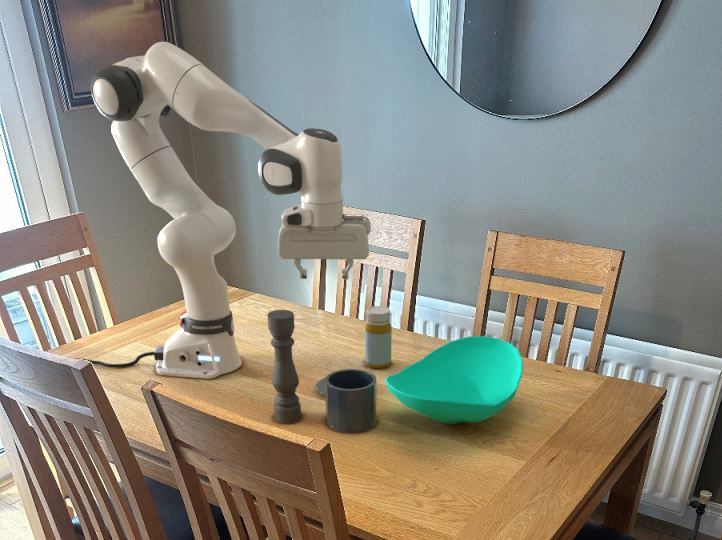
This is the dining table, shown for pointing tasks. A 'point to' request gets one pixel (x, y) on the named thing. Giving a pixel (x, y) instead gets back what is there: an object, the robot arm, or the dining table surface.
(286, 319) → the candle holder
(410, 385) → the table top decor
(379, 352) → the bottle
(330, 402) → the crock
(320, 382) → the lid
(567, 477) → the dining table surface
